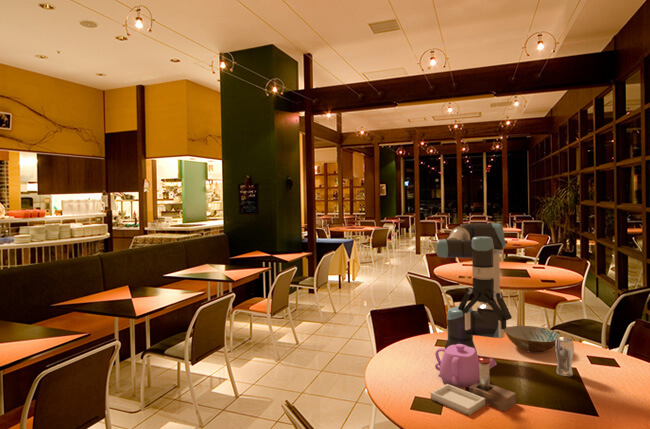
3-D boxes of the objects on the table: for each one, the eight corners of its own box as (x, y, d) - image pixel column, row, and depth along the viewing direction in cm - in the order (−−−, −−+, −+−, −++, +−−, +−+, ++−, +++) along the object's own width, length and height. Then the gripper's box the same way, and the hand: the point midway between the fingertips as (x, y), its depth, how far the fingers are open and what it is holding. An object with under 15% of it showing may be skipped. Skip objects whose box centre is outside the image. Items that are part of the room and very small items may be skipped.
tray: (430, 399, 153) (430, 392, 152) (447, 390, 159) (447, 383, 159) (468, 415, 140) (468, 408, 140) (485, 405, 147) (485, 398, 147)
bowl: (517, 337, 219) (516, 322, 218) (568, 348, 200) (568, 332, 200) (496, 349, 202) (496, 333, 201) (550, 362, 183) (550, 345, 183)
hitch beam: (469, 397, 153) (469, 387, 153) (480, 390, 158) (480, 380, 158) (505, 411, 142) (505, 400, 142) (516, 403, 147) (515, 393, 147)
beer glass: (576, 377, 167) (576, 341, 167) (558, 376, 169) (558, 341, 168) (570, 370, 174) (569, 336, 174) (552, 369, 176) (552, 335, 175)
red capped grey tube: (476, 397, 153) (475, 358, 152) (482, 393, 156) (481, 355, 155) (487, 401, 149) (486, 362, 149) (493, 397, 152) (492, 358, 152)
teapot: (430, 371, 178) (429, 339, 178) (474, 366, 181) (473, 335, 181) (450, 390, 159) (449, 355, 159) (498, 385, 162) (498, 350, 162)
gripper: (448, 275, 159) (449, 328, 159) (510, 283, 139) (512, 343, 140) (459, 272, 163) (460, 324, 164) (520, 280, 144) (521, 338, 145)
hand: (484, 333), depth 152 cm, fingers open, 13 cm apart
